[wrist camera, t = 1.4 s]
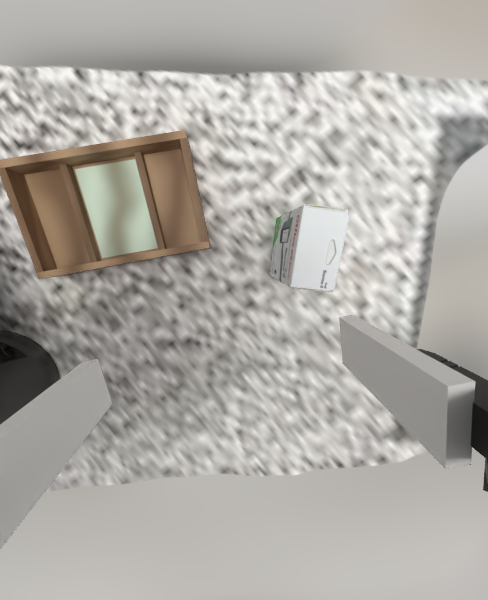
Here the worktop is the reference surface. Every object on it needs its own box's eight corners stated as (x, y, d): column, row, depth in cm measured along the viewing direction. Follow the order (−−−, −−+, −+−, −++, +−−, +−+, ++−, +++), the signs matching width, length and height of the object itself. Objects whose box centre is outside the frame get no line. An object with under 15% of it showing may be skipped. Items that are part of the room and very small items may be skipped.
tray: (57, 275, 33) (39, 279, 30) (20, 170, 30) (-6, 160, 27) (210, 247, 34) (209, 247, 31) (189, 143, 31) (184, 130, 28)
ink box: (275, 216, 34) (302, 199, 23) (309, 220, 35) (352, 206, 23) (268, 276, 36) (289, 289, 24) (300, 279, 36) (335, 293, 25)
